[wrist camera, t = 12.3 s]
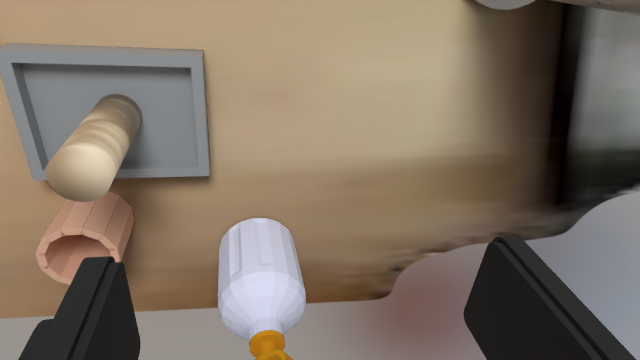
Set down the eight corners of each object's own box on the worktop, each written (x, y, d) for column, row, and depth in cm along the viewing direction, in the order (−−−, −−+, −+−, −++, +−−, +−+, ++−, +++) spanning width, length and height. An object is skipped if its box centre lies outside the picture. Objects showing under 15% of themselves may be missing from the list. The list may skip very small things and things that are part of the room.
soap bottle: (203, 242, 48) (186, 468, 27) (266, 202, 47) (297, 405, 26) (249, 284, 53) (263, 504, 32) (306, 248, 52) (360, 451, 31)
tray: (203, 50, 37) (201, 56, 35) (210, 164, 43) (209, 175, 41) (7, 43, 34) (-8, 49, 32) (43, 168, 40) (33, 180, 38)
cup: (128, 187, 43) (112, 226, 37) (137, 239, 46) (124, 282, 40) (56, 190, 41) (27, 230, 35) (71, 243, 45) (47, 288, 39)
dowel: (139, 94, 37) (105, 151, 27) (144, 134, 39) (115, 201, 29) (91, 93, 36) (38, 151, 26) (99, 134, 38) (53, 203, 28)
